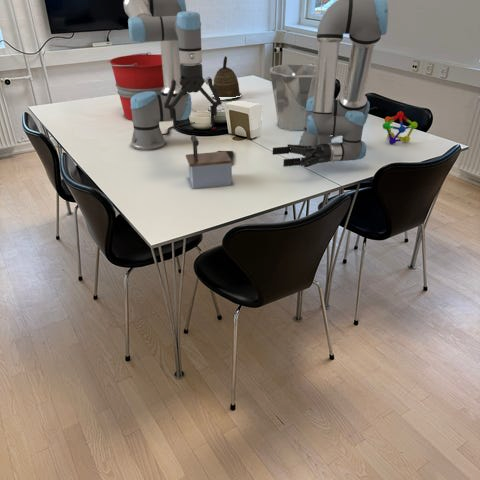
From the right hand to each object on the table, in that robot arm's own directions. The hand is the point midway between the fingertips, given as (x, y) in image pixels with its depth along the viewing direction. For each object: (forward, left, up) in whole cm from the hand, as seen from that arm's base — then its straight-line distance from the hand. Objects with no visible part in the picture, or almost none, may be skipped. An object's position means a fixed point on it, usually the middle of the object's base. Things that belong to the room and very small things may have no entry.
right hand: (278, 156), depth 174 cm
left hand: (+29, -14, +15) cm, 36 cm away
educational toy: (-70, +7, -8) cm, 71 cm away
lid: (+25, -12, +1) cm, 28 cm away
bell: (-59, -110, -8) cm, 125 cm away
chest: (+25, -12, -8) cm, 28 cm away
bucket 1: (-1, -107, -8) cm, 107 cm away
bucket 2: (-52, -42, -8) cm, 67 cm away
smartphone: (+6, -27, -8) cm, 29 cm away
